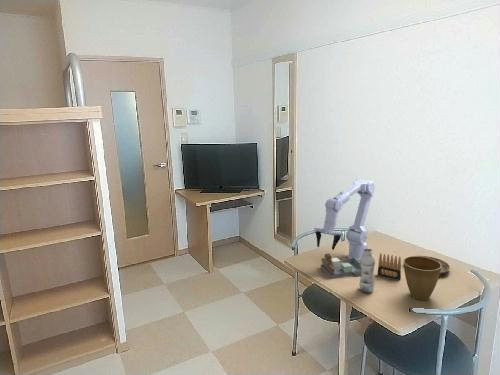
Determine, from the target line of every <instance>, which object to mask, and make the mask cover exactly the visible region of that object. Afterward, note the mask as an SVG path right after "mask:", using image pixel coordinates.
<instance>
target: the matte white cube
mask: <svg viewBox="0 0 500 375" xmlns="http://www.w3.org/2000/svg"><path fill="white" fill-rule="evenodd" d="M340 262H341V260H340V259H339V258H338V257H332V264H331V265H332V266H333V267H338V266H340Z"/></svg>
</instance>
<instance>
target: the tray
mask: <svg viewBox="0 0 500 375" xmlns="http://www.w3.org/2000/svg"><path fill="white" fill-rule="evenodd" d="M341 262H343V263H349V264H350V265H352V271H353V276H354V277H361V264H360V260H357V259H355V258H354V257H353V258H342V260H341Z"/></svg>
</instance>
